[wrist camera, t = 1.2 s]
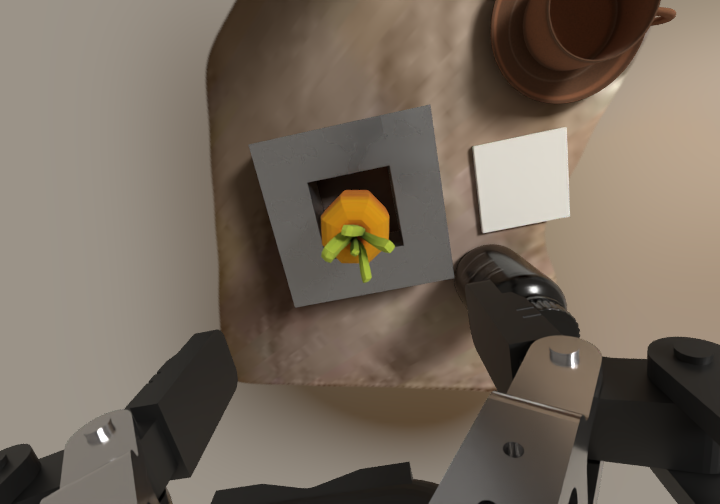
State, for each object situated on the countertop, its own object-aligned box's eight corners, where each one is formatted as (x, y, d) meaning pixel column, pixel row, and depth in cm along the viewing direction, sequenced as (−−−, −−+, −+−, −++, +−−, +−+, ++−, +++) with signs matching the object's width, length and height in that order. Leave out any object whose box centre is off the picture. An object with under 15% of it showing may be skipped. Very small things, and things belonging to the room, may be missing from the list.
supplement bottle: (459, 313, 38) (500, 391, 26) (446, 252, 36) (485, 307, 24) (527, 297, 37) (599, 370, 26) (517, 234, 35) (591, 282, 24)
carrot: (393, 189, 34) (413, 228, 20) (372, 237, 35) (376, 306, 21) (343, 168, 33) (326, 193, 19) (323, 217, 35) (295, 275, 20)
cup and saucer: (630, -85, 28) (701, -144, 22) (636, 83, 31) (700, 70, 25) (472, -35, 29) (499, -79, 23) (495, 122, 32) (524, 119, 26)
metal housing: (265, 143, 33) (248, 144, 28) (420, 109, 32) (430, 104, 27) (304, 285, 37) (295, 307, 32) (442, 259, 36) (454, 278, 31)
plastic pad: (472, 146, 33) (473, 146, 32) (563, 127, 32) (566, 127, 32) (481, 231, 35) (483, 233, 34) (567, 215, 34) (570, 216, 34)
